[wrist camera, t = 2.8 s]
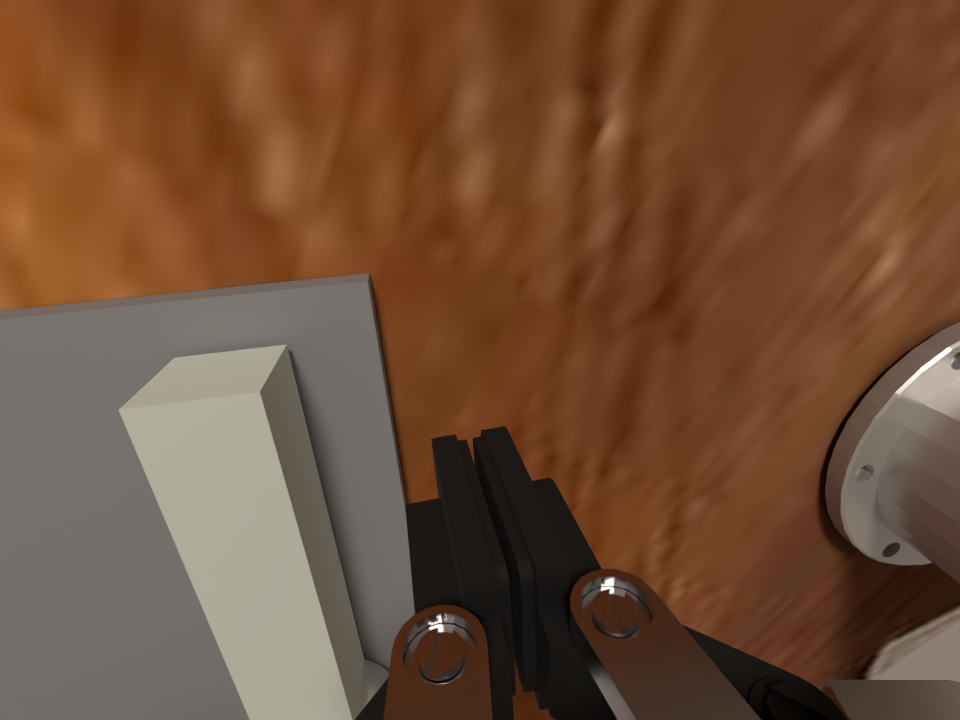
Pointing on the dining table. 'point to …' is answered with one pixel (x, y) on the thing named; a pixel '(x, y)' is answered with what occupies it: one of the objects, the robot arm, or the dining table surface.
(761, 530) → the dining table surface
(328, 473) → the board
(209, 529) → the link
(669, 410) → the dining table surface
